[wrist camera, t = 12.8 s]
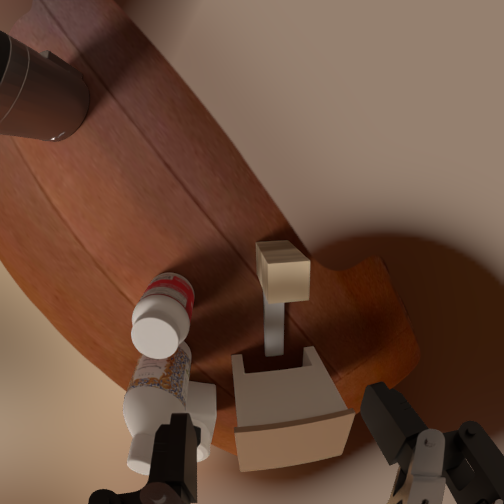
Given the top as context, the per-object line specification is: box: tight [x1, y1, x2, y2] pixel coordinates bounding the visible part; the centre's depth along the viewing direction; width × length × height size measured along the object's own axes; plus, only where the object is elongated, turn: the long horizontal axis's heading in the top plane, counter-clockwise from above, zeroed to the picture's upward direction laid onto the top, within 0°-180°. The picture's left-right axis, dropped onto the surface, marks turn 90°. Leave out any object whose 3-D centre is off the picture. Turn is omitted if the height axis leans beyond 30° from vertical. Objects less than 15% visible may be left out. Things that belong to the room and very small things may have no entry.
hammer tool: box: [256, 240, 310, 357], centre depth 32 cm, size 16×4×9 cm, turn 2°
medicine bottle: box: [185, 381, 217, 462], centre depth 33 cm, size 7×7×12 cm
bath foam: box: [123, 341, 191, 475], centre depth 27 cm, size 7×7×20 cm
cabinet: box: [231, 346, 355, 472], centre depth 32 cm, size 9×13×15 cm
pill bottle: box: [131, 273, 195, 359], centre depth 29 cm, size 6×6×11 cm
